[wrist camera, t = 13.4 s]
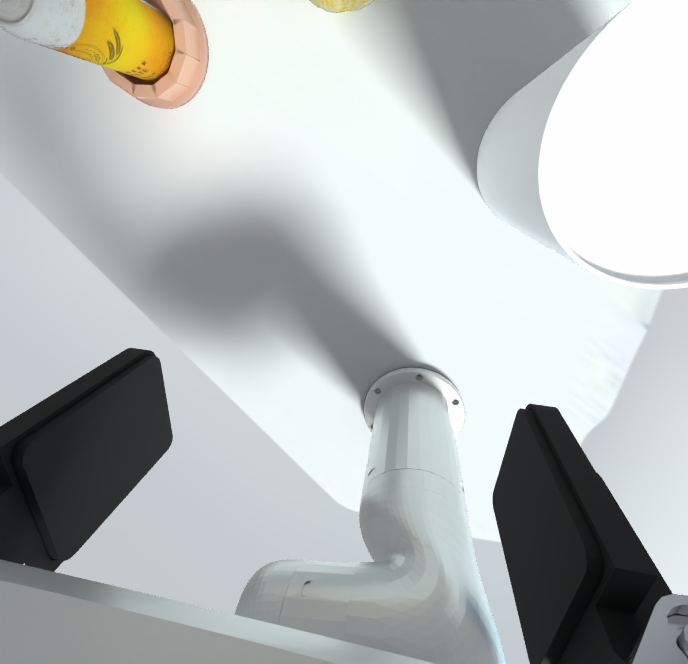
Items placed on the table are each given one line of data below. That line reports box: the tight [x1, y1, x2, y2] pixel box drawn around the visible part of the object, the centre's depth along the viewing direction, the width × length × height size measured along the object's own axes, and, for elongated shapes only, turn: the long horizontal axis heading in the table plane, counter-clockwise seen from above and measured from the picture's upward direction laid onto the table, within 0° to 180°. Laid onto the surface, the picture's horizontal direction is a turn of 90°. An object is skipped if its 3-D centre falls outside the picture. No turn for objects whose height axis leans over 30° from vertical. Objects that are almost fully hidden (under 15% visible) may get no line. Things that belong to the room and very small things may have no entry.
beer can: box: [0, 0, 176, 82], centre depth 29 cm, size 6×6×15 cm
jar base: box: [102, 0, 209, 109], centre depth 35 cm, size 11×11×3 cm
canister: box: [477, 0, 688, 289], centre depth 26 cm, size 14×14×20 cm
